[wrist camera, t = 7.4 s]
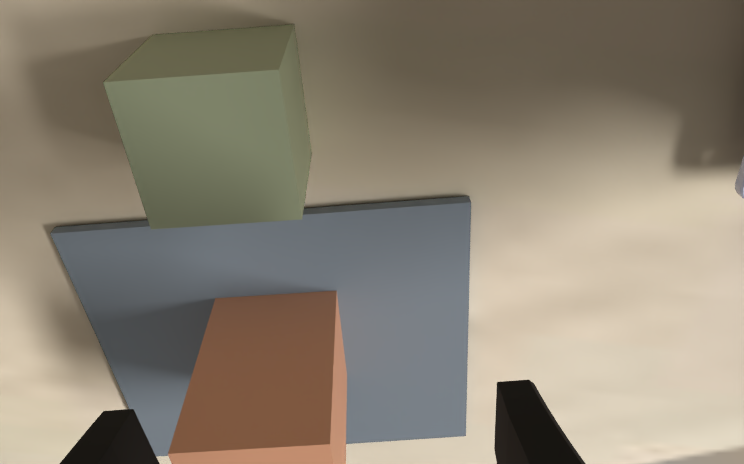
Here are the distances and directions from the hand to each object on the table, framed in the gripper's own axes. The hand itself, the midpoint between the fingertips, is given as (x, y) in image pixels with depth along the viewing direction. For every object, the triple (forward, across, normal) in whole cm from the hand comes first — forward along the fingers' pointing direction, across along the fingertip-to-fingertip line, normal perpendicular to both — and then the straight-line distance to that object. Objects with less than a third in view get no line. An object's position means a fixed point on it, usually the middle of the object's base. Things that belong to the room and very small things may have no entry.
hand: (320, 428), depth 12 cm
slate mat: (+9, +3, +6) cm, 12 cm away
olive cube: (+9, +2, -4) cm, 10 cm away
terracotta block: (+9, +3, +6) cm, 11 cm away
